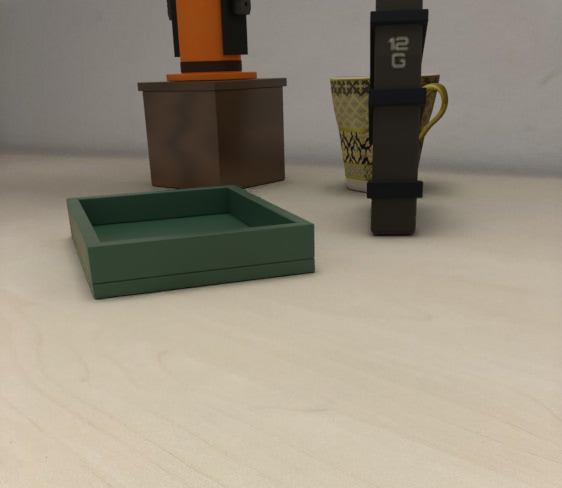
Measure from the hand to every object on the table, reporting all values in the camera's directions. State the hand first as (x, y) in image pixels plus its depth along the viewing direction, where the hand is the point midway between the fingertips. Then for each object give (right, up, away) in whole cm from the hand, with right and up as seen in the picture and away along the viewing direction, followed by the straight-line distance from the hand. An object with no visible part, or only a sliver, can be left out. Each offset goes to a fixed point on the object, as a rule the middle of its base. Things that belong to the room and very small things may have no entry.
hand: (210, 55), depth 69 cm
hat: (0, -2, +1) cm, 2 cm away
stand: (0, -11, +5) cm, 12 cm away
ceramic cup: (+18, -14, -2) cm, 22 cm away
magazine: (+16, -19, -15) cm, 29 cm away
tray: (0, -24, -23) cm, 33 cm away
